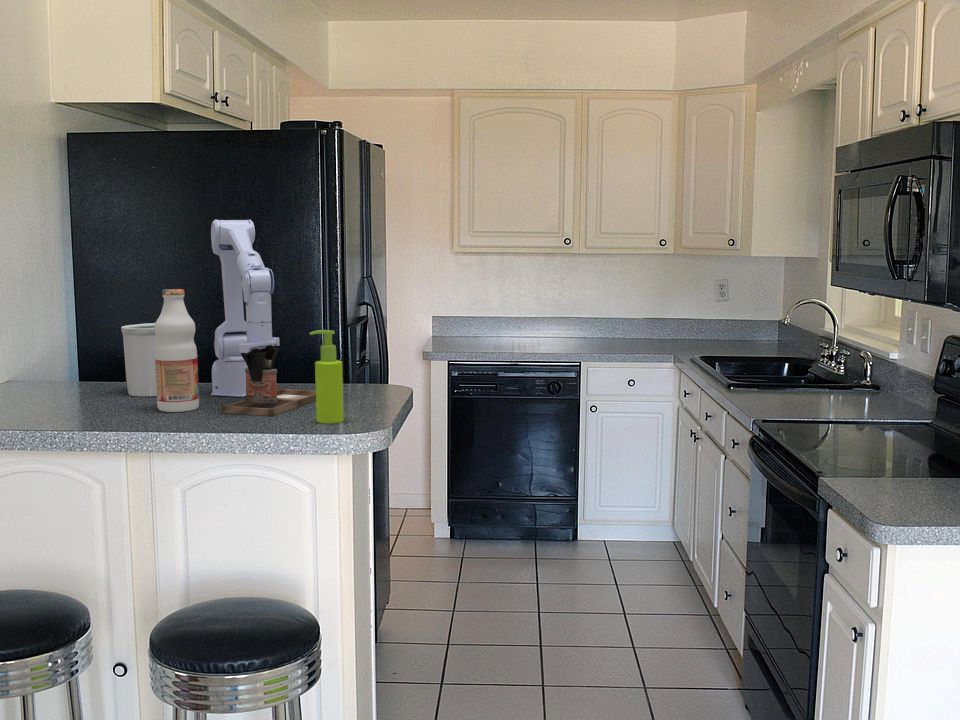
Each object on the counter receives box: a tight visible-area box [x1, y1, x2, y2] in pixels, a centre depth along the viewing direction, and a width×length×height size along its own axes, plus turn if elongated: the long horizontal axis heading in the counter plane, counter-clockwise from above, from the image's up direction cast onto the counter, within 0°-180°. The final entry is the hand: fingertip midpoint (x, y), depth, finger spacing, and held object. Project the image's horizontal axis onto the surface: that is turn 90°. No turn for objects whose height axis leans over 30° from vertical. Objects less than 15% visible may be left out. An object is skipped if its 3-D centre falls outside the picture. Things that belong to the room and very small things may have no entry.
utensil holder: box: [120, 322, 157, 398], centre depth 253 cm, size 15×15×18 cm
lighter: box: [244, 358, 278, 402], centre depth 230 cm, size 8×3×10 cm, turn 71°
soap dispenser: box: [308, 329, 344, 424], centre depth 215 cm, size 6×7×20 cm
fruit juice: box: [154, 288, 200, 413], centre depth 229 cm, size 9×9×28 cm
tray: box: [221, 388, 316, 417], centre depth 236 cm, size 13×26×2 cm, turn 161°
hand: (260, 380), depth 230 cm, fingers closed on lighter, 3 cm apart
